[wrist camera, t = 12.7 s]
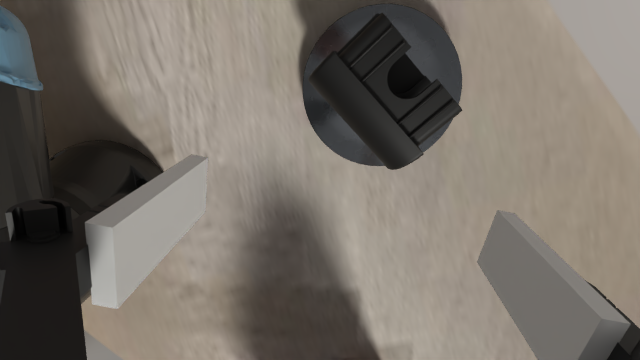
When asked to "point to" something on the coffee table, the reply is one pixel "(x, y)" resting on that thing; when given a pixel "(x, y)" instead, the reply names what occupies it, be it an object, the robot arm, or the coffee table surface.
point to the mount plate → (426, 53)
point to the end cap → (384, 93)
